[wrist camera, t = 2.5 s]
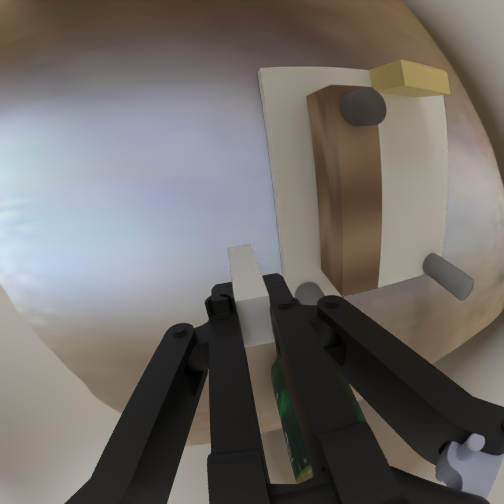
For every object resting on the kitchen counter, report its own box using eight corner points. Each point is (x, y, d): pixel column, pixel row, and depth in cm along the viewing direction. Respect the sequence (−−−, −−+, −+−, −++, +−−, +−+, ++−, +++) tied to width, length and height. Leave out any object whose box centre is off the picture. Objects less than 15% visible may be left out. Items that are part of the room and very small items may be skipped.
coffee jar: (262, 354, 28) (304, 520, 11) (332, 334, 28) (411, 479, 11) (276, 402, 32) (310, 529, 15) (334, 385, 32) (387, 502, 15)
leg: (306, 96, 17) (342, 79, 11) (342, 95, 17) (388, 83, 12) (320, 269, 23) (352, 309, 17) (352, 263, 23) (389, 299, 17)
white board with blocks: (257, 72, 18) (278, 39, 11) (431, 85, 19) (485, 80, 12) (284, 300, 25) (307, 353, 19) (431, 264, 27) (473, 295, 20)
